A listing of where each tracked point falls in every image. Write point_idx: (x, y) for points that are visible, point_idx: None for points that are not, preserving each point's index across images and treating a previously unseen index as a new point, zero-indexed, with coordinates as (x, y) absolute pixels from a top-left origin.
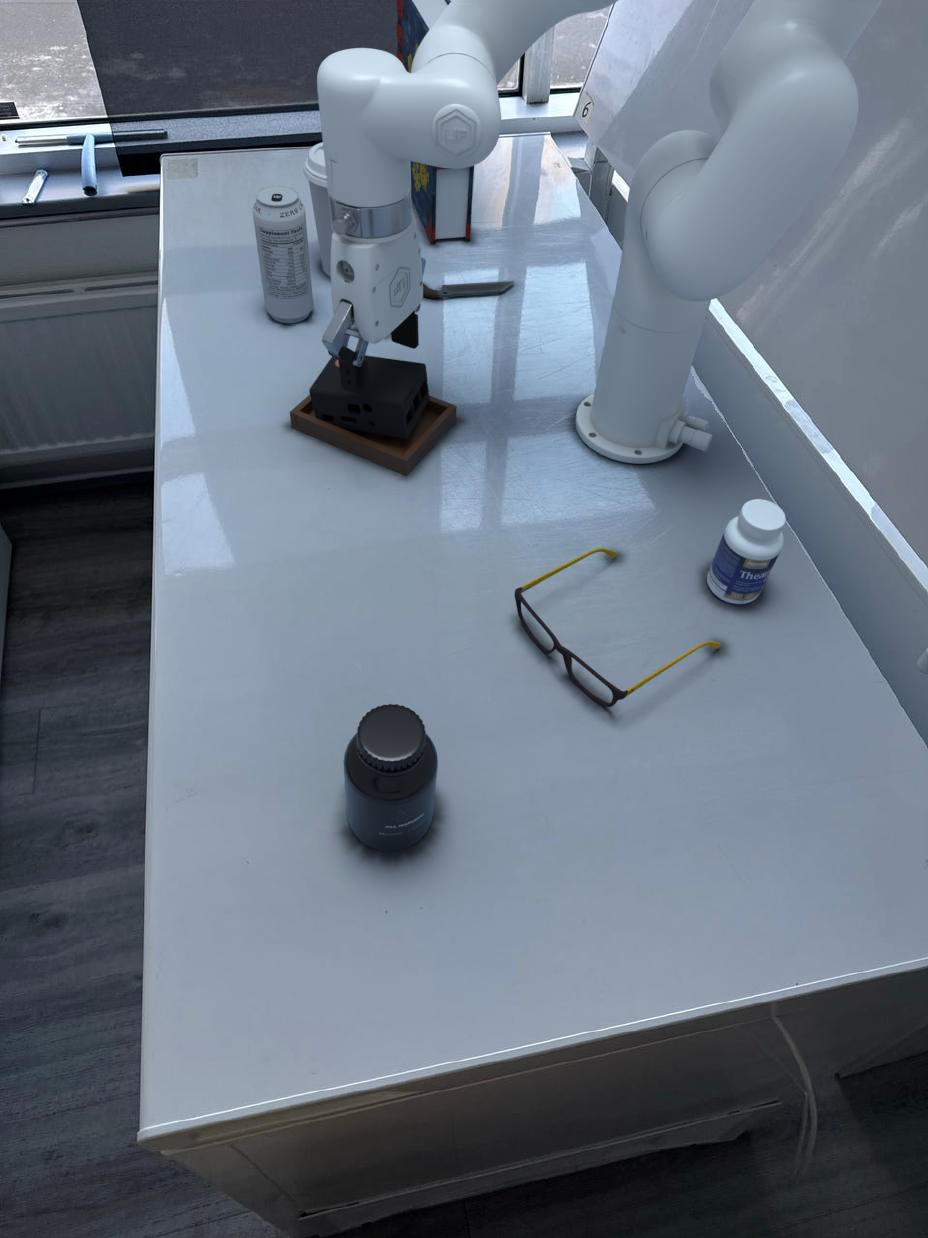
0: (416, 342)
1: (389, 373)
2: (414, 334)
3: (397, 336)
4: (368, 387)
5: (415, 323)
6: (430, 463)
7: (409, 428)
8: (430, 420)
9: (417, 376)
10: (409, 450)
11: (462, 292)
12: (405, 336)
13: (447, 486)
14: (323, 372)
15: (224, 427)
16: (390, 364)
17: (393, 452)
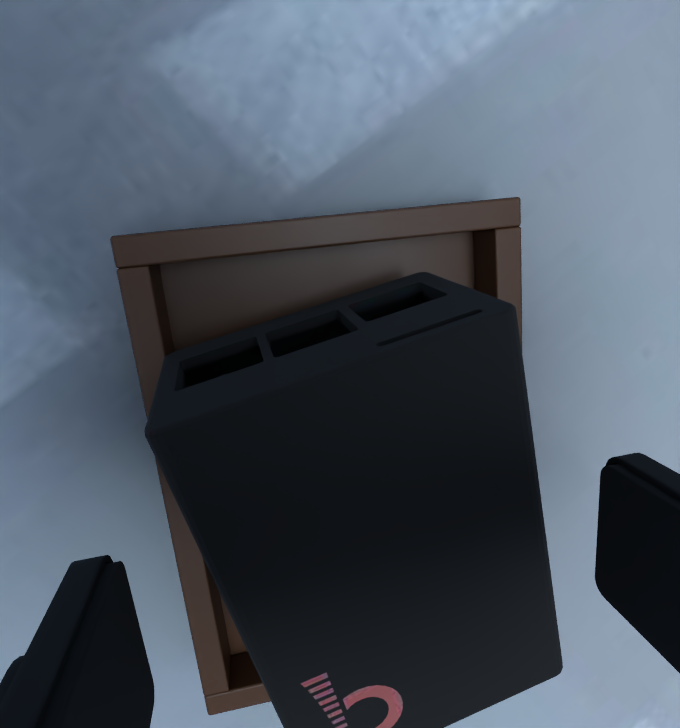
0: (91, 579)
1: (336, 520)
2: (86, 636)
3: (138, 699)
4: (657, 474)
5: (35, 724)
6: (389, 172)
7: (398, 285)
8: (216, 304)
9: (278, 389)
10: (467, 223)
11: None
12: (120, 665)
13: (452, 45)
14: (459, 713)
15: (585, 703)
16: (271, 566)
17: (509, 264)
